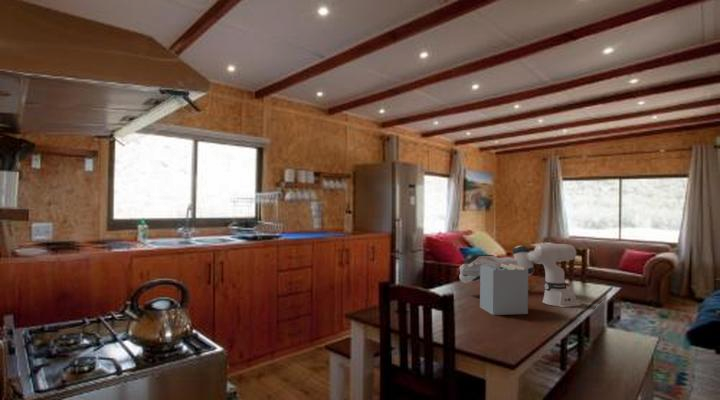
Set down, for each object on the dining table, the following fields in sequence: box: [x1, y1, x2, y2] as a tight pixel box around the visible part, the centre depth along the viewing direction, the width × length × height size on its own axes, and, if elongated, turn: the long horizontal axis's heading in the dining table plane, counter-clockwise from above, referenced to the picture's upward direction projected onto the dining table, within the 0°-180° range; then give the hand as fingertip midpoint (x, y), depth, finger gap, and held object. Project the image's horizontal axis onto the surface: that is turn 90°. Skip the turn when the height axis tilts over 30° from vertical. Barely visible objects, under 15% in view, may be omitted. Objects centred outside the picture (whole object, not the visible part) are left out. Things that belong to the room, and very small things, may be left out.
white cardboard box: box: [479, 264, 529, 316], centre depth 227 cm, size 22×16×27 cm
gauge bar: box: [480, 259, 500, 269], centre depth 232 cm, size 3×20×3 cm, turn 9°
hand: (480, 263), depth 242 cm, fingers open, 8 cm apart
